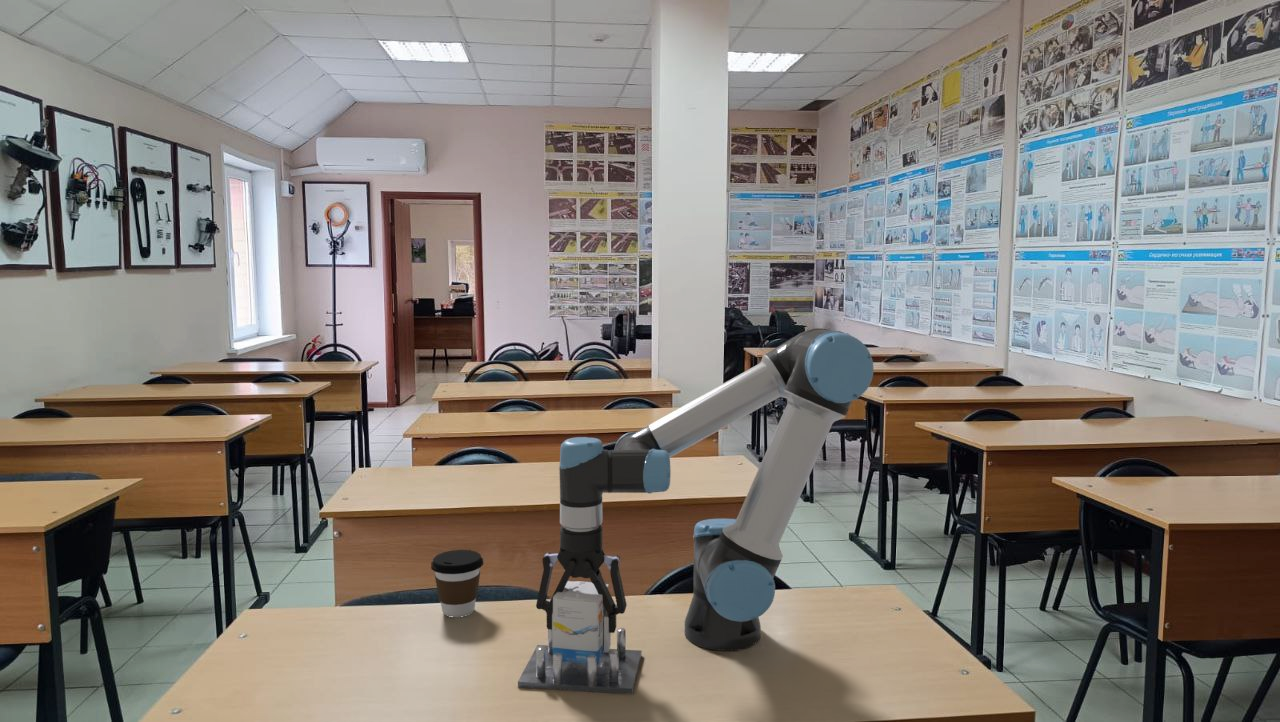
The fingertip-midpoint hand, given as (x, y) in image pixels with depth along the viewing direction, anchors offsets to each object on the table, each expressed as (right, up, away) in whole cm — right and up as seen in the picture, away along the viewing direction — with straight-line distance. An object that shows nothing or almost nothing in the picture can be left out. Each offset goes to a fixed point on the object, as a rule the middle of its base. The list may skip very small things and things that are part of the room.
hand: (581, 647), depth 141 cm
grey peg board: (0, -4, 0) cm, 4 cm away
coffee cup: (-28, -2, +26) cm, 38 cm away
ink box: (0, -1, 0) cm, 1 cm away
